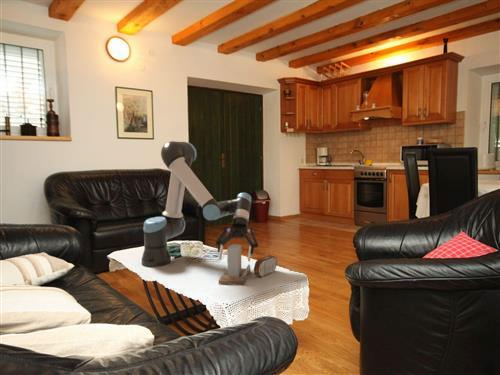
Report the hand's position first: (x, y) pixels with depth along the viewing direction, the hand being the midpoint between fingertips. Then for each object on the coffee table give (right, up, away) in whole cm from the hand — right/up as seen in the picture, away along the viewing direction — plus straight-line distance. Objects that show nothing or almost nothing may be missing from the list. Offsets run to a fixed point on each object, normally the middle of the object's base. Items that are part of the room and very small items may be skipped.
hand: (234, 259), depth 160 cm
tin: (+15, -9, +6) cm, 18 cm away
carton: (0, -7, +2) cm, 8 cm away
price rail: (+5, -7, +2) cm, 9 cm away
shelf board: (0, -9, +3) cm, 9 cm away
